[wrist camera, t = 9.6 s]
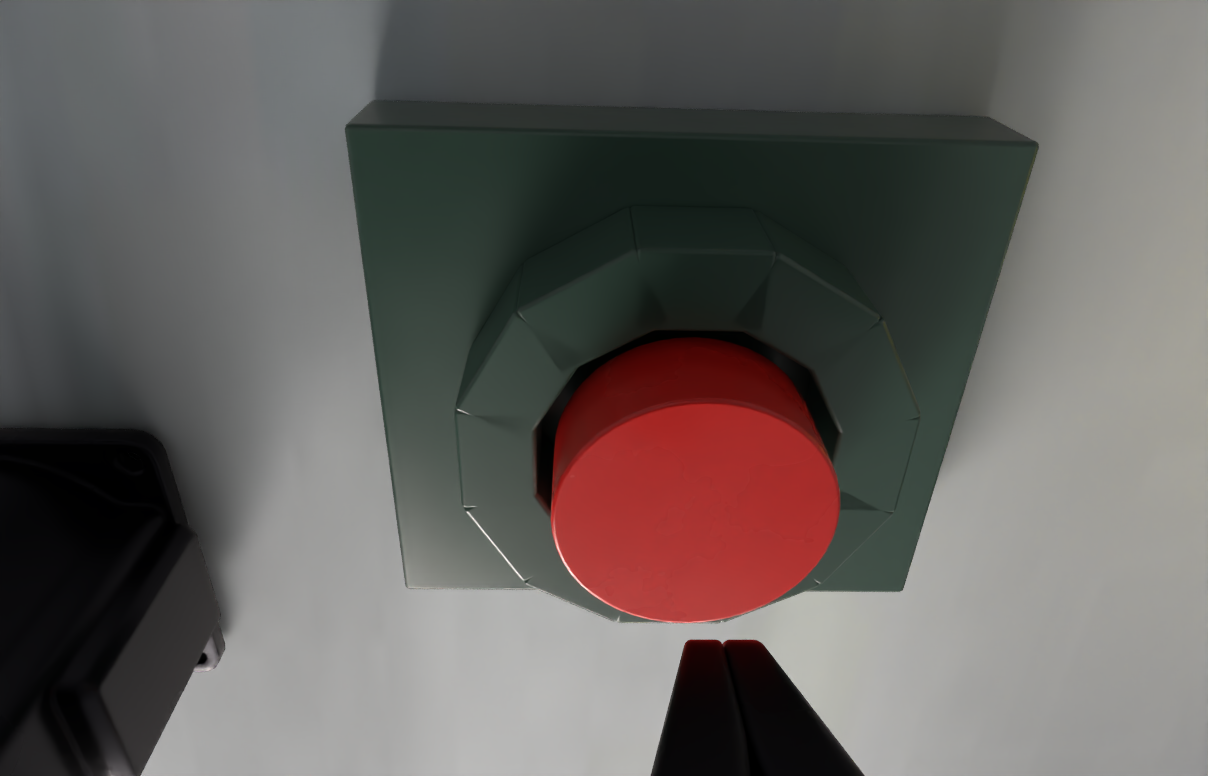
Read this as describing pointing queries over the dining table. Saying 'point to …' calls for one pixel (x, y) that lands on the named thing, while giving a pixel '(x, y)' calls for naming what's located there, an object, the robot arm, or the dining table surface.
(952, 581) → the dining table surface
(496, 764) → the dining table surface
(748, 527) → the button
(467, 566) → the button block
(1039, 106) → the dining table surface
